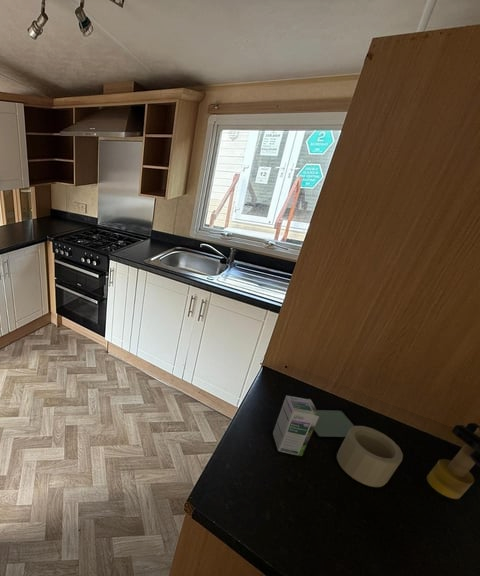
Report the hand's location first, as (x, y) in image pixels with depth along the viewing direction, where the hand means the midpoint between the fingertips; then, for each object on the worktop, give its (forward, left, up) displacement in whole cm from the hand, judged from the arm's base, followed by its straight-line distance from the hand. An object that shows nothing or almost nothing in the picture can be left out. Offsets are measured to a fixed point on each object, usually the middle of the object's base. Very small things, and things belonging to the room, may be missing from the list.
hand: (462, 427), depth 60 cm
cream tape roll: (+5, -7, -23) cm, 25 cm away
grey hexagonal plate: (+4, -20, -23) cm, 31 cm away
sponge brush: (-1, +3, -14) cm, 14 cm away
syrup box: (+20, -13, -23) cm, 34 cm away
